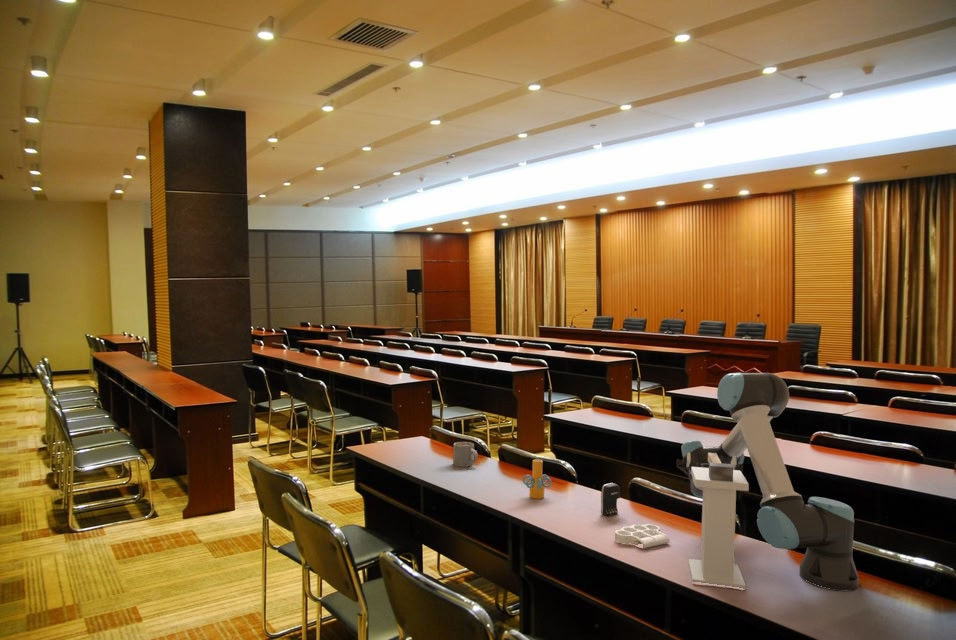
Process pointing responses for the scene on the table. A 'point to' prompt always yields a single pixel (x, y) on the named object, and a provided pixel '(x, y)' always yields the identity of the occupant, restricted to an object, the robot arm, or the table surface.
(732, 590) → the table surface
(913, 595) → the table surface
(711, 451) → the robot arm
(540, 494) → the post with side rings
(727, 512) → the stand
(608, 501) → the battery
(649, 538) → the white compartment tray
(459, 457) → the coffee mug
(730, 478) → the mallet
